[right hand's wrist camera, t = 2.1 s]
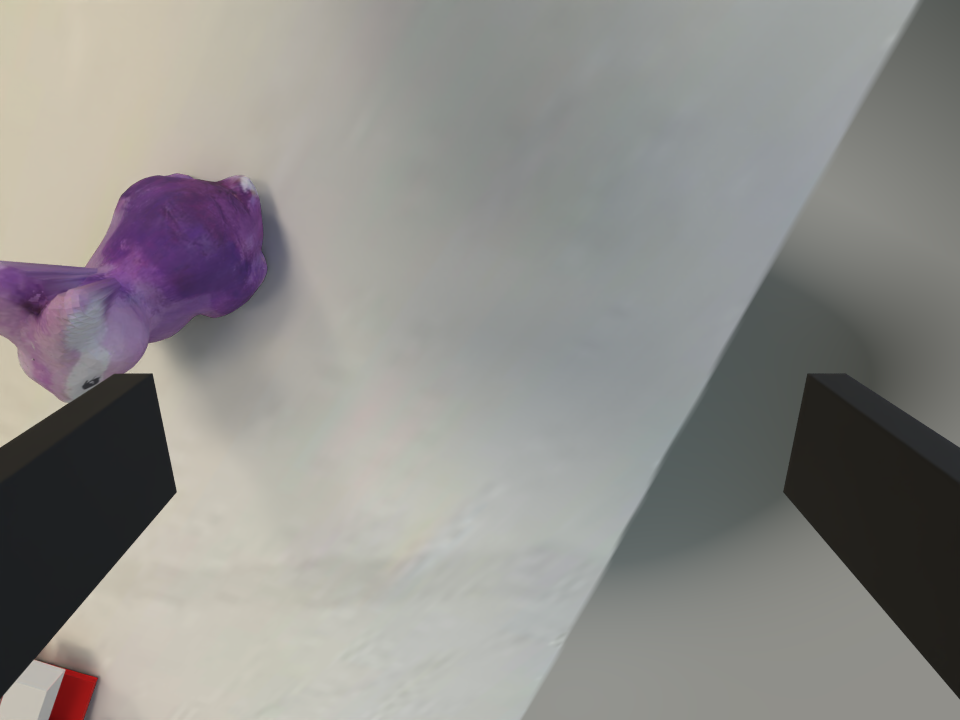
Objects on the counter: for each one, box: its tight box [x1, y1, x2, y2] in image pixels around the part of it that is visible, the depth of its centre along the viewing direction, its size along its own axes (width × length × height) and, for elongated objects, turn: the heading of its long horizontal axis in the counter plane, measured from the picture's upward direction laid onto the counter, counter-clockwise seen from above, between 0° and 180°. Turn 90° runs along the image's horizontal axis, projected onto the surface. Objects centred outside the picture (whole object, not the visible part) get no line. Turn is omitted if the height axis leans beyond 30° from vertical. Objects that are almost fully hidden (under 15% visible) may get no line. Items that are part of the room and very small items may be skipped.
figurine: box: [0, 173, 267, 403], centre depth 30 cm, size 9×10×15 cm
